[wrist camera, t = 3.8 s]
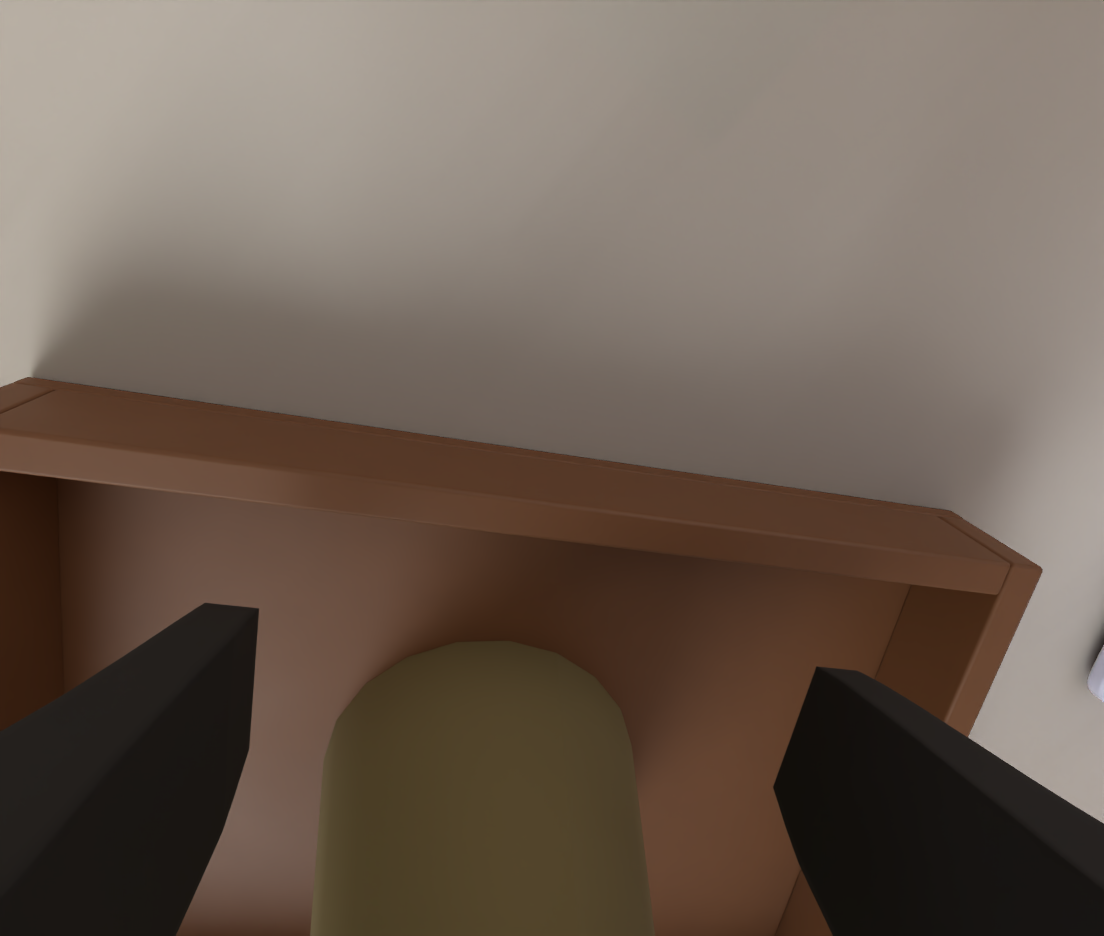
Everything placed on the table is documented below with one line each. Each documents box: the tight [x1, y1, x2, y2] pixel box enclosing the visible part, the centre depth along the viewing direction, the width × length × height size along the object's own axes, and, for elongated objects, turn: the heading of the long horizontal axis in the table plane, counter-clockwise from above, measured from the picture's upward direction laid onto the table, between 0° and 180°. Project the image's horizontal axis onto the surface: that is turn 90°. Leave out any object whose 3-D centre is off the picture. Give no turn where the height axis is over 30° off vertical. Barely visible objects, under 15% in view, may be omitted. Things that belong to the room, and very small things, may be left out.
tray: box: [0, 377, 1042, 936], centre depth 13 cm, size 16×13×2 cm
